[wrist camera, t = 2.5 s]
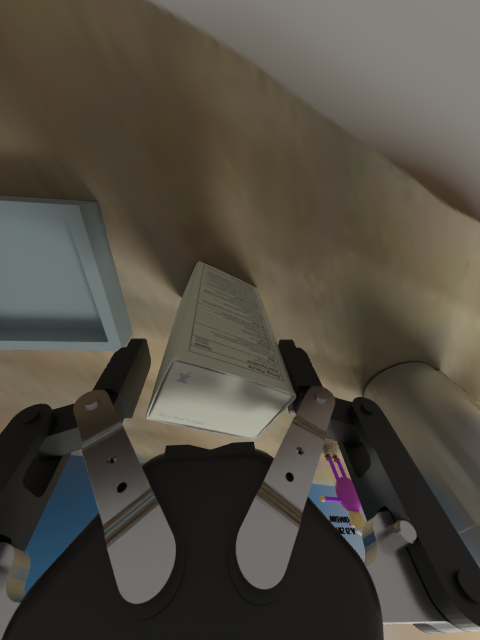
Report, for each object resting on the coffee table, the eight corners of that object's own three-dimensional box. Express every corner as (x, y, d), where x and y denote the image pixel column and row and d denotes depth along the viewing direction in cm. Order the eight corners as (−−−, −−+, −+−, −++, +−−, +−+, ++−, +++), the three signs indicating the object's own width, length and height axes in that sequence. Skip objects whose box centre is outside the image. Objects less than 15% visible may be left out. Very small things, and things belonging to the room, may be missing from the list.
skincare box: (180, 298, 20) (137, 419, 10) (198, 256, 18) (167, 356, 8) (240, 323, 22) (252, 445, 12) (262, 287, 20) (300, 398, 10)
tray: (97, 201, 16) (78, 205, 14) (132, 334, 22) (122, 350, 20) (-124, 187, 14) (-182, 188, 12) (-18, 331, 21) (-45, 349, 19)
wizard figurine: (302, 456, 39) (329, 552, 29) (311, 447, 37) (344, 546, 27) (353, 463, 42) (394, 553, 32) (363, 454, 40) (410, 547, 30)
